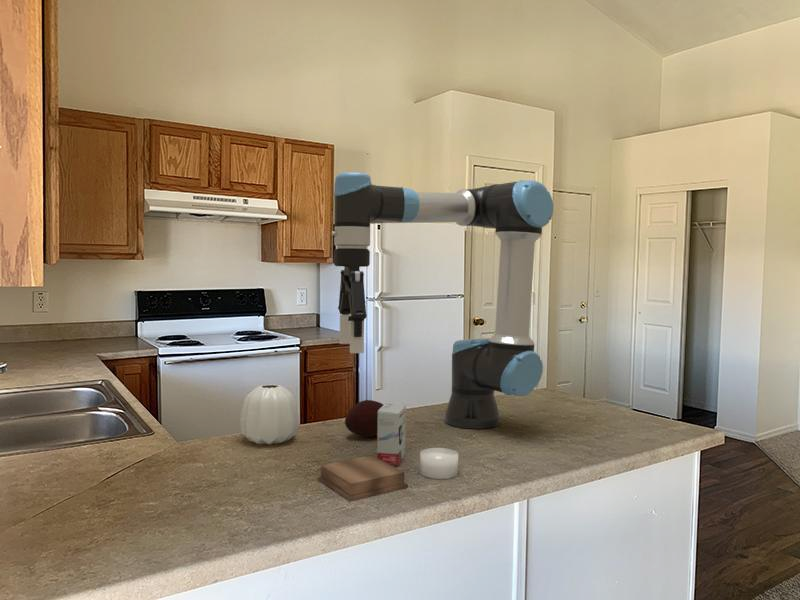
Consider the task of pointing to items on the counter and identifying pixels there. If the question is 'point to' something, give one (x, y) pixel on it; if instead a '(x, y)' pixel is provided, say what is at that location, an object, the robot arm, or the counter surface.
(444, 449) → the white dome button
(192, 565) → the counter surface
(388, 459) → the ink box
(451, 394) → the robot arm
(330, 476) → the podium
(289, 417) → the vase
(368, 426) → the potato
